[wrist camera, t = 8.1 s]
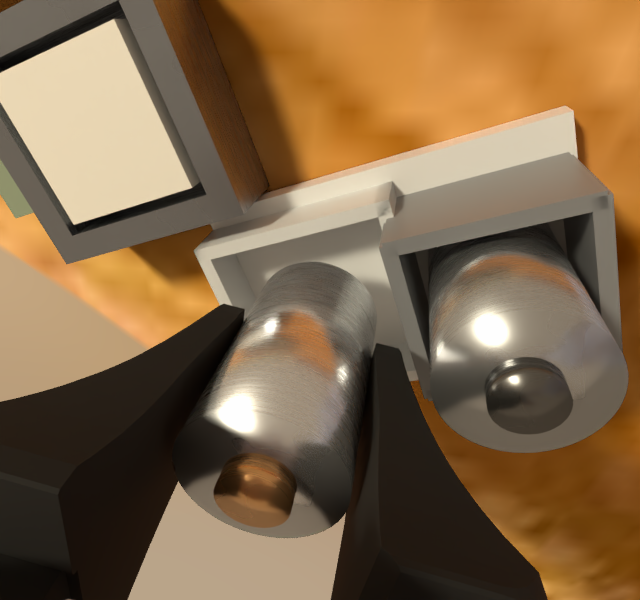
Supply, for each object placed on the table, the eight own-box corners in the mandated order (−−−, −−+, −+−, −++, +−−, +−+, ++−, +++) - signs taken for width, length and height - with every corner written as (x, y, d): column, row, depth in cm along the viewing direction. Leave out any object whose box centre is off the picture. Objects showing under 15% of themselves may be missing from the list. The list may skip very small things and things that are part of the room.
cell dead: (561, 294, 15) (641, 464, 9) (441, 316, 16) (451, 478, 10) (546, 183, 13) (634, 306, 8) (415, 216, 14) (410, 344, 9)
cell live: (366, 373, 15) (334, 577, 10) (256, 351, 16) (166, 535, 10) (387, 274, 13) (361, 459, 8) (261, 251, 14) (153, 412, 8)
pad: (206, 177, 14) (192, 187, 13) (93, 212, 15) (73, 224, 14) (135, 18, 12) (113, 19, 11) (13, 74, 13) (-14, 79, 13)
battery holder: (586, 321, 16) (630, 405, 13) (288, 369, 19) (259, 445, 16) (565, 105, 13) (615, 139, 9) (215, 207, 16) (161, 259, 13)
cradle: (269, 185, 16) (243, 214, 13) (77, 242, 18) (29, 274, 16) (180, -45, 13) (129, -56, 11) (-33, 61, 15) (-109, 70, 13)
